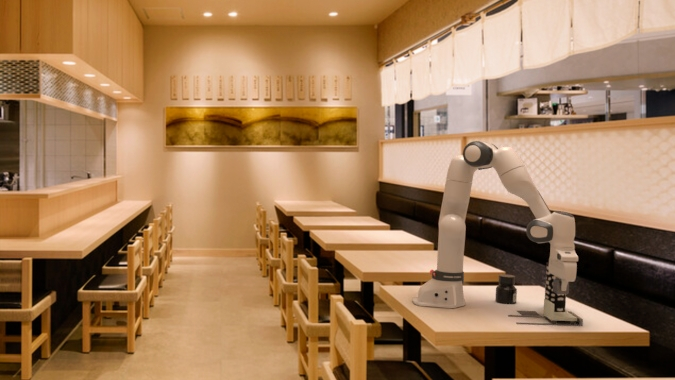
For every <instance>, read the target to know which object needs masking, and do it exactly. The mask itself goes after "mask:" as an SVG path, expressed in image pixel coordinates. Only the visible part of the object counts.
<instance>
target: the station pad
mask: <svg viewBox="0 0 675 380" xmlns="http://www.w3.org/2000/svg"><path fill="white" fill-rule="evenodd" d="M516 312H517V313H518V315H524V316H542V315H541V314H540V313H538V312H537V311H535V310H516Z"/></svg>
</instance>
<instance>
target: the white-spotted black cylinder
mask: <svg viewBox="0 0 675 380" xmlns="http://www.w3.org/2000/svg"><path fill="white" fill-rule="evenodd" d="M545 267H546V269H545V285H544V287H545V289H544V299H547V300H549V301H550V302H552V303H553V304H555V305H554V312H566V303H567V301H566V300H567V294H556V293H555V292H553V279H554V275H553V274H551V273H549V270H548V267H549V261H548V262H546V266H545Z"/></svg>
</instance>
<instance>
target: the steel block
mask: <svg viewBox="0 0 675 380" xmlns="http://www.w3.org/2000/svg"><path fill="white" fill-rule="evenodd" d="M561 280H562V279H553V292H555V293H556V294H566V295H569V292H570V291H569V289H570V282H568V284H567V288H566V291H562V290H561V289H560V288H561V285H562V282H561Z"/></svg>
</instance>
